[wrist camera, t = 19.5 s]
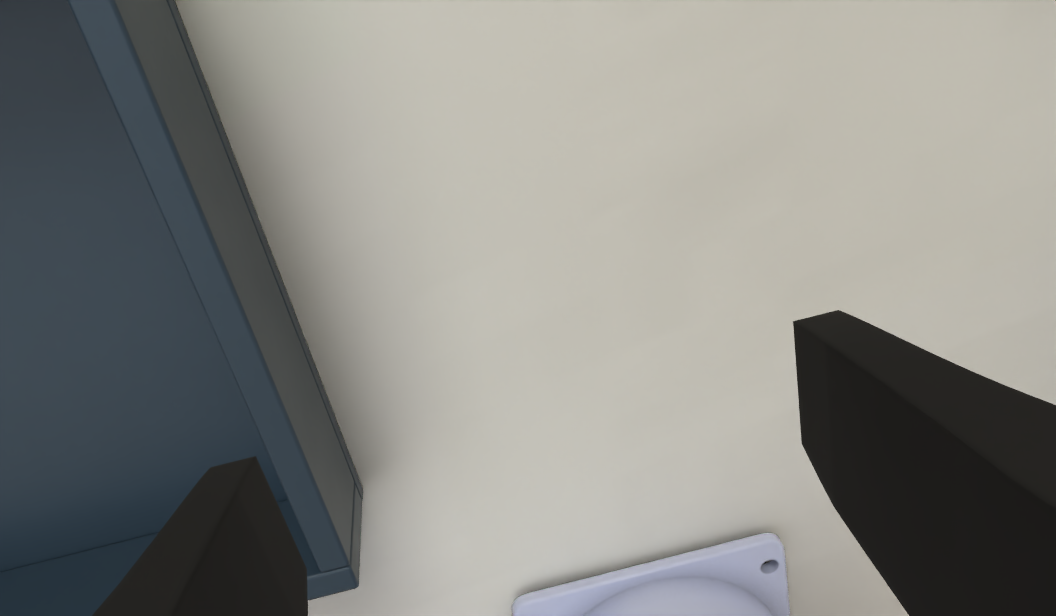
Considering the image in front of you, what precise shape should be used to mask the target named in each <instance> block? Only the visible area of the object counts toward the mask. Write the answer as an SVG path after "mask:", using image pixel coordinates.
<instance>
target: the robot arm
mask: <svg viewBox="0 0 1056 616" xmlns="http://www.w3.org/2000/svg"><path fill="white" fill-rule="evenodd" d="M793 324H794V338H795V353H796V367H797V381H798V396H799V410H800V424H801V439H802V445H803V447H804V449H805V451H806V453H807V455H808V457H809V459H810V461H811V463H812V465H813V467H814V469H815V471H816V473H817V475H818V477H819V479H820V481H821V483H822V485H823V487H824V489H825V491H826V493H827V494H828V496H829V498H830V500H831V502H832V504H833V506H834V507H835V509H836V510H837V512H838V513H839V515H840V516H841V518H842V519H843V521H844V522H845V524H846V525H847V527H848V528H849V530H850V531H851V532H852V534H853V535H854V537H855V538H856V540H857V541H858V543H859V544H860V546H861V547H862V548H863V550H864V551H865V553H866V554H867V556H868V557H869V559H870V560H871V561H872V563H873V564H874V566H875V567H876V569H877V570H878V571H879V573H880V574H881V576H882V577H883V579H884V580H885V582H886V583H887V584H888V586H889V587H890V589H891V590H892V592H893V593H894V594H895V596H896V597H897V599H898V600H899V602H900V603H901V604H902V606H903V607H904V609H905V610H906V612H907V613H908V614H909V616H1056V405H1053V404H1051V403H1048V402H1046V401H1043V400H1041V399H1038V398H1035V397H1033V396H1030V395H1028V394H1025V393H1023V392H1020V391H1017V390H1015V389H1012V388H1010V387H1007V386H1005V385H1002V384H1000V383H998V382H995V381H993V380H991V379H988V378H986V377H983V376H981V375H979V374H976V373H974V372H972V371H970V370H967V369H965V368H963V367H961V366H958V365H956V364H954V363H952V362H950V361H947V360H945V359H943V358H941V357H939V356H936V355H934V354H932V353H930V352H928V351H926V350H924V349H921V348H919V347H917V346H915V345H913V344H911V343H909V342H907V341H905V340H903V339H900V338H898V337H896V336H894V335H892V334H890V333H888V332H886V331H884V330H882V329H879V328H877V327H875V326H873V325H871V324H869V323H867V322H865V321H862V320H860V319H858V318H856V317H854V316H851V315H849V314H847V313H844V312H842V311H839V310H837V311H833V312H829V313H825V314H821V315H817V316H813V317H809V318H805V319H801V320H797V321H793ZM768 560H771V561H770V562H768V563H765V564H763V563H764V562H766V561H768ZM512 614H513V616H790V605H789V594H788V582H787V571H786V560H785V549H784V546H783V544H782V542H781V540H780V538H779V537H778V536H777V535H776V534H773V533H761V534H758V535H754V536H750V537H746V538H742V539H738V540H734V541H730V542H726V543H722V544H718V545H714V546H710V547H706V548H703V549H699V550H695V551H691V552H687V553H683V554H679V555H675V556H671V557H667V558H663V559H659V560H655V561H652V562H648V563H644V564H640V565H636V566H632V567H628V568H624V569H620V570H616V571H612V572H608V573H604V574H600V575H597V576H593V577H589V578H585V579H581V580H577V581H573V582H569V583H565V584H561V585H557V586H553V587H549V588H546V589H542V590H538V591H534V592H530V593H526V594H523V595H521V596H519V597H518V598H516V599H515V600H514V602H513V604H512ZM92 616H308V598H307V568H306V566H305V564H304V561H303V559H302V557H301V555H300V552H299V550H298V548H297V546H296V544H295V541H294V539H293V537H292V535H291V533H290V530H289V528H288V526H287V524H286V521H285V519H284V517H283V515H282V513H281V510H280V508H279V506H278V504H277V502H276V499H275V497H274V495H273V493H272V491H271V488H270V486H269V484H268V482H267V479H266V477H265V475H264V473H263V471H262V468H261V466H260V464H259V462H258V460H257V457H256V456H254V457H250V458H246V459H242V460H238V461H234V462H230V463H226V464H222V465H218V466H214V467H210V468H209V469H208V470H207V472H206V473H205V474H204V475H203V476H202V477H201V479H200V480H199V481H198V482H197V484H196V485H195V486H194V487H193V489H192V490H191V491H190V493H189V494H188V495H187V496H186V498H185V499H184V500H183V502H182V503H181V504H180V506H179V507H178V508H177V509H176V511H175V512H174V513H173V515H172V516H171V517H170V519H169V520H168V521H167V523H166V524H165V525H164V527H163V528H162V529H161V530H160V532H159V533H158V534H157V536H156V537H155V538H154V540H153V541H152V542H151V543H150V545H149V546H148V547H147V549H146V550H145V551H144V552H143V554H142V555H141V556H140V557H139V559H138V560H137V561H136V563H135V564H134V565H133V566H132V568H131V569H130V570H129V572H128V573H127V574H126V575H125V577H124V578H123V579H122V581H121V582H120V583H119V584H118V585H117V587H116V588H115V589H114V590H113V591H112V593H111V594H110V595H109V596H108V597H107V598H106V600H105V601H104V602H103V603H102V604H101V606H100V607H99V608H98V609H97V610H96V611H95V613H94V614H93V615H92Z"/></svg>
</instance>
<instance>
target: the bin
mask: <svg viewBox="0 0 1056 616" xmlns="http://www.w3.org/2000/svg"><path fill="white" fill-rule="evenodd" d="M254 456H256V457H257V460H258V462H259V464H260V466H261V468H262V471H263V473H264V475H265V477H266V479H267V482H268V484H269V486H270V488H271V491H272V493H273V495H274V497H275V499H276V502H277V504H278V506H279V508H280V510H281V513H282V515H283V517H284V519H285V521H286V524H287V526H288V528H289V530H290V533H291V535H292V537H293V539H294V541H295V544H296V546H297V548H298V550H299V552H300V555H301V557H302V559H303V561H304V564H305V566H306V568H307V598H308V600H312V599H316V598H320V597H324V596H328V595H331V594H335V593H339V592H343V591H347V590H351V589H355V588H357V587H358V586H359V567H360V542H361V518H362V499H363V488H362V486H361V483H360V480H359V478H358V475H357V473H356V470H355V467H354V465H353V462H352V460H351V457H350V455H349V452H348V449H347V447H346V444H345V442H344V439H343V436H342V434H341V431H340V429H339V426H338V423H337V421H336V418H335V416H334V413H333V410H332V408H331V405H330V403H329V400H328V398H327V395H326V392H325V390H324V387H323V385H322V382H321V379H320V377H319V374H318V372H317V369H316V366H315V364H314V361H313V359H312V356H311V354H310V351H309V348H308V346H307V343H306V341H305V338H304V335H303V333H302V330H301V328H300V325H299V322H298V320H297V317H296V315H295V312H294V310H293V307H292V304H291V302H290V299H289V297H288V294H287V291H286V289H285V286H284V284H283V281H282V278H281V276H280V273H279V271H278V268H277V266H276V263H275V260H274V258H273V255H272V253H271V250H270V247H269V245H268V242H267V240H266V237H265V234H264V232H263V229H262V227H261V224H260V221H259V219H258V216H257V214H256V211H255V209H254V206H253V203H252V201H251V198H250V196H249V193H248V190H247V188H246V185H245V183H244V180H243V177H242V175H241V172H240V170H239V167H238V165H237V162H236V159H235V157H234V154H233V152H232V149H231V146H230V144H229V141H228V139H227V136H226V133H225V131H224V128H223V126H222V123H221V121H220V118H219V115H218V113H217V110H216V108H215V105H214V102H213V100H212V97H211V95H210V92H209V89H208V87H207V84H206V82H205V79H204V76H203V74H202V71H201V69H200V66H199V64H198V61H197V58H196V56H195V53H194V51H193V48H192V45H191V43H190V40H189V38H188V35H187V32H186V30H185V27H184V25H183V22H182V20H181V17H180V14H179V12H178V9H177V7H176V4H175V1H174V0H0V616H92V615H93V614H94V613H95V611H96V610H97V609H98V608H99V607H100V606H101V604H102V603H103V602H104V601H105V600H106V598H107V597H108V596H109V595H110V594H111V593H112V591H113V590H114V589H115V588H116V587H117V585H118V584H119V583H120V582H121V581H122V579H123V578H124V577H125V575H126V574H127V573H128V572H129V570H130V569H131V568H132V566H133V565H134V564H135V563H136V561H137V560H138V559H139V557H140V556H141V555H142V554H143V552H144V551H145V550H146V549H147V547H148V546H149V545H150V543H151V542H152V541H153V540H154V538H155V537H156V536H157V534H158V533H159V532H160V530H161V529H162V528H163V527H164V525H165V524H166V523H167V521H168V520H169V519H170V517H171V516H172V515H173V513H174V512H175V511H176V509H177V508H178V507H179V506H180V504H181V503H182V502H183V500H184V499H185V498H186V496H187V495H188V494H189V493H190V491H191V490H192V489H193V487H194V486H195V485H196V484H197V482H198V481H199V480H200V479H201V477H202V476H203V475H204V474H205V473H206V472H207V470H208V469H209V468H210V467H214V466H218V465H222V464H226V463H230V462H234V461H238V460H242V459H246V458H250V457H254Z"/></svg>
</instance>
